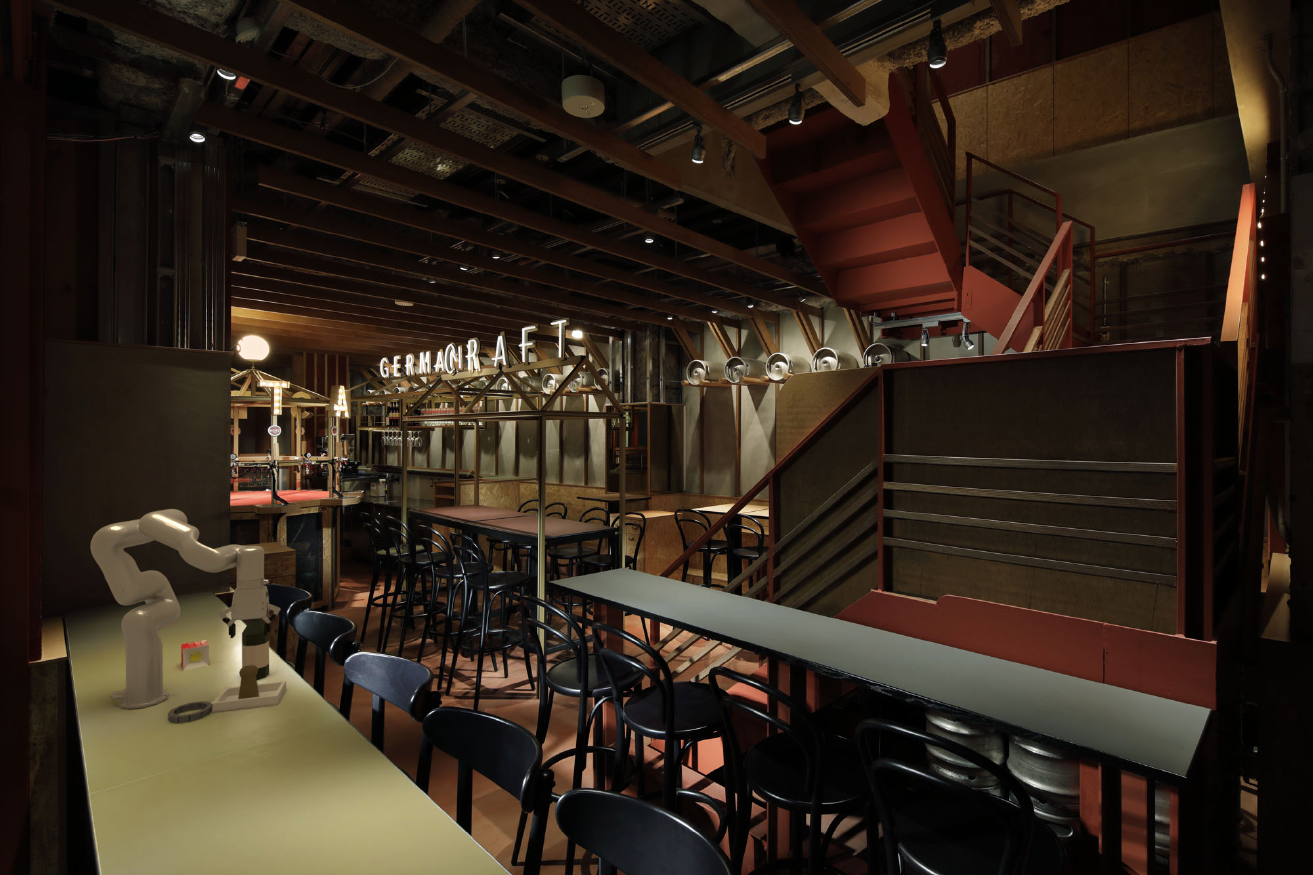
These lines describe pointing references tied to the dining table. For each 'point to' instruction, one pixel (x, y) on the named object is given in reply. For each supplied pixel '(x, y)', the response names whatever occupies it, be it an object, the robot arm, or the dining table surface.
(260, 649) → the wine bottle
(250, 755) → the dining table surface
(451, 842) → the dining table surface
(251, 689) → the cork
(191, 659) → the small red white box
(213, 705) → the white rectangular tray
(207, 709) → the stone ring
